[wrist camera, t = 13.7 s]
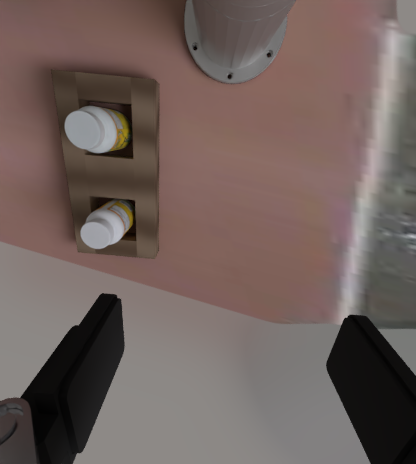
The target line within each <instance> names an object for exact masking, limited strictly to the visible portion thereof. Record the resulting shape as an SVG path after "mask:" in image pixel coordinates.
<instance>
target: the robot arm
mask: <svg viewBox="0 0 416 464" xmlns="http://www.w3.org/2000/svg"><path fill="white" fill-rule="evenodd" d="M295 1H296V0H187V1H186V5H185V13H184V31H185V36H186V41H187V45H188V48H189V51H190V53H191V55H192V57H193V59H194V61H195V62H196V64H197V65H198V67H199V68H200V69H201V70H202V71H203V72H204V73H205V74H206V75H208V76H209V77H211V78H212V79H214V80H216V81H219V82H221V83H226V84H240V83H243V82H247V81H249V80H251V79H253V78H255V77H257V76H258V75H259V74H261V73H262V72H263V71H264V70H265V69H266V68H267V67H268V66H269V65H270V64H271V62H272V61H273V60H274V58H275V57H276V55H277V53H278V51H279V49H280V47H281V45H282V42H283V39H284V36H285V31H286V25H287V14H288V12H289V11H290V9H291V8H292V6H293V4H294V3H295ZM194 47H197V50H194ZM267 54H270V57H269V58H268V57H267ZM228 75H231V79H228ZM123 352H124V331H123V318H122V304H121V299H119V298H117V295H115V294H104V293H102V294H101V295H100V296H99V297H98V299H97V300H96V302H95V303H94V304H93V306H92V307H91V309H90V310H89V311H88V313H87V314H86V316H85V317H84V319H83V320H82V322H81V323H80V324H79V326H78V325H75V326H73V327H72V328H71V329H70V330H69V331H68V333H67V334H66V335H65V337H64V338H63V340H62V341H61V342H60V344H59V345H58V346H57V348H56V349H55V351H54V352H53V354H52V355H51V356H50V358H49V359H48V361H47V362H46V363H45V364H44V366H43V367H42V368H41V370H40V371H39V373H38V374H37V376H36V377H35V378H34V380H33V381H32V382H31V384H30V385H29V386H28V388H27V389H26V390H25V392H24V393H23V395H22V396H21V398H8V399H5V400H2V401H0V464H73V461H74V459H75V457H76V454H77V453H81V452H82V451H83V449H84V448H85V446H86V443H87V441H88V438H89V436H90V433H91V431H92V428H93V426H94V424H95V421H96V419H97V416H98V414H99V411H100V409H101V406H102V404H103V402H104V399H105V397H106V394H107V392H108V389H109V387H110V385H111V382H112V380H113V377H114V375H115V372H116V370H117V368H118V365H119V363H120V360H121V358H122V355H123ZM326 366H327V371H328V374H329V376H330V378H331V380H332V382H333V384H334V386H335V389H336V391H337V393H338V395H339V397H340V399H341V401H342V403H343V406H344V408H345V410H346V412H347V414H348V416H349V418H350V420H351V423H352V425H353V427H354V429H355V431H356V433H357V435H358V437H359V439H360V442H361V443H362V446H363V448H364V450H365V452H366V454H367V457H368V459H369V461H370V463H371V464H416V376H415V375H414V373H413V372H412V371H411V370H410V368H409V367H408V366H407V365H406V363H405V362H404V361H403V360H402V359H401V358H400V356H399V355H398V354H397V352H396V351H395V350H394V349H393V348H392V346H391V345H390V344H389V343H388V342H387V340H386V339H385V338H384V337H383V335H382V334H381V333H380V332H379V331H378V329H377V328H376V327H375V326H374V325H373V323H372V322H371V321H370V320H369V318H367V317H366V316H361V315H349V316H348V317H347V318H345V319H344V320H343V323H342V325H341V328H340V331H339V333H338V336H337V338H336V340H335V343H334V345H333V348H332V350H331V353H330V355H329V358H328V360H327V364H326Z"/></svg>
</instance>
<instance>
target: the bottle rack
mask: <svg viewBox="0 0 416 464" xmlns="http://www.w3.org/2000/svg"><path fill="white" fill-rule="evenodd" d="M51 73H52V80H53V86H54V93H55V100H56V107H57V114H58V120H59V127H60V134H61V141H62V148H63V154H64V161H65V168H66V175H67V181H68V188H69V195H70V202H71V209H72V215H73V222H74V229H75V236H76V243H77V249H78V252H82V253H93V254H105V255H116V256H128V257H139V258H151V259H155V257H156V255H157V253H158V251H159V83H158V82H157V81H156V80H154V79H145V78H134V77H124V76H113V75H103V74H92V73H82V72H71V71H61V70H51ZM89 102H99V103H110V104H120V105H131V106H132V130H133V157H132V156H121V155H110V154H99V153H93V152H90V151H88V150H86V149H81V148H79V147H77V146H75V145H74V144H73V143H72V142H71V141H70V140H69V139H68V137H67V135H66V132H65V120H66V118H67V116H68V115H69V114H70V113H72V112H74V111H78V110H79V109H80V108H82V107H85V106H90V105H89ZM99 197H107V198H118V199H129V200H135V212H136V234H135V233H125V234H124V236H123V237H122V238H121V239H120V240H119V241H118V242H116V243H114V244H111V245H108V246H106V247H105V248H102V249H94V248H91V247H89V246H88V245H86V244H85V243H84V241H83V240H82V238H81V235H80V231H81V228H82V226H83V225H84V224H85V223H86V219H87V217H88V216H89V215H90V214H91V213H92V212H93V211H95V210H96V209H98V208H100V206H99Z"/></svg>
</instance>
